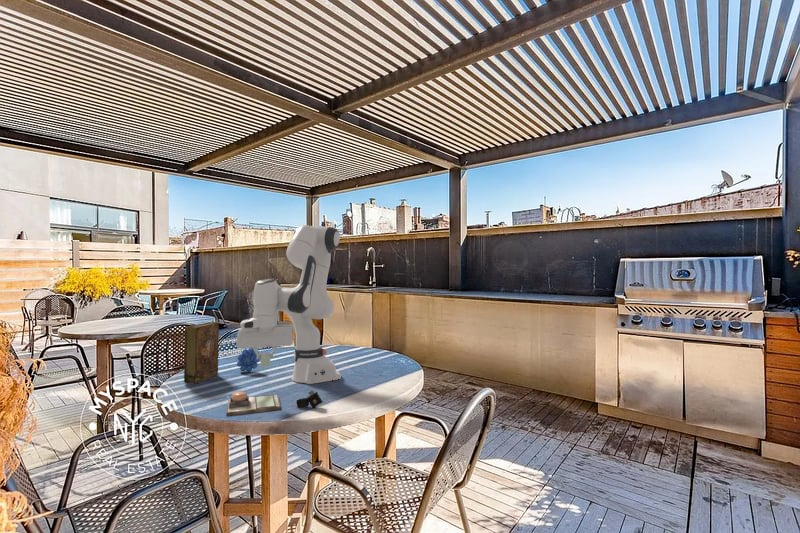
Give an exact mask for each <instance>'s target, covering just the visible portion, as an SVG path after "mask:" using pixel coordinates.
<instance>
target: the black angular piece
mask: <svg viewBox="0 0 800 533" xmlns="http://www.w3.org/2000/svg"><path fill="white" fill-rule="evenodd" d="M308 394H309V395H307V397H304V398H299V399H297V400H295V401H296V407H297V409H299V408H300V409H302V408H303V409H304V408H306V407H307V408H308V406H309V405H310V406H311V408H312V409H314V408H315V407H317V406H319V405H321V404H322V403H323V401H324V400H322V399H321V397H320V395H319V393H318V391H314V390H310V391H309V392H308Z"/></svg>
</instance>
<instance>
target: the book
mask: <svg viewBox="0 0 800 533" xmlns="http://www.w3.org/2000/svg"><path fill="white" fill-rule="evenodd" d="M219 326H220V324H219V322H217V321H216V322H215V321H211V322H210V321H209V322H205V323H198V324H192V325H188V326H185V328H184V365H183V366H184V371H183V381H184V384H189V383H190V384H195V385H197V384H196V383H198V384H199V382H201V383H203V382H205V380H206V381H207V380H210V379H212V378H215V377H218V376H219V341H220V340H219V338H220V336H219V334H220V333H219V332H220V329H219V328H220V327H219ZM202 381H203V382H202Z"/></svg>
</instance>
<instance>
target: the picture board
mask: <svg viewBox="0 0 800 533" xmlns="http://www.w3.org/2000/svg"><path fill="white" fill-rule="evenodd" d="M281 408H282V406H281V403H280V399H279V396H278V394H274V393H273V394H262V395H255V396H249V395H248V394H247V400H246V401H241V402H232V396H230V397H229V399H228V400H227V406H226V416H237V415H245V414H252V413H254V414H255V413H261V412H270V411H279V410H281Z"/></svg>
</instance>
